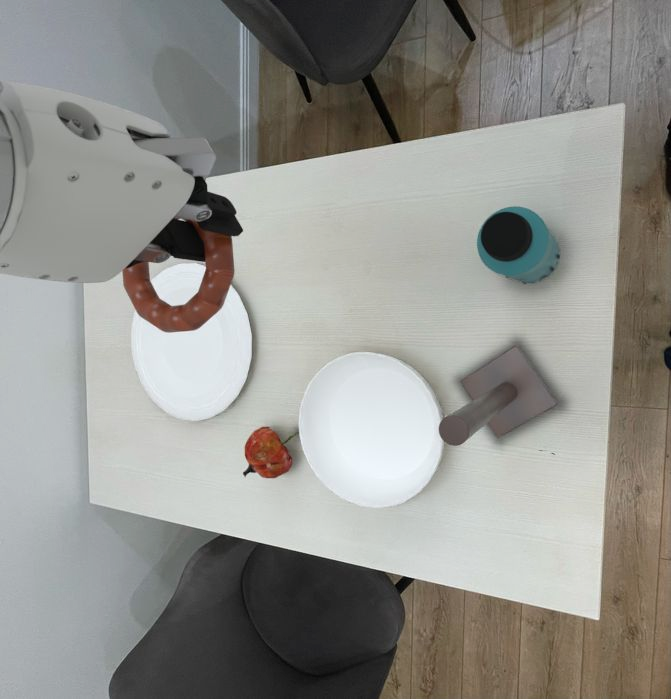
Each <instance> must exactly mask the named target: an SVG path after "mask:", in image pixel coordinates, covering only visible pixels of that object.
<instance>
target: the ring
mask: <svg viewBox="0 0 671 699" xmlns="http://www.w3.org/2000/svg"><path fill="white" fill-rule="evenodd" d="M173 219H178V220H181V219H180V218H175V217H173ZM182 221H187V222H189V223H190V224H192V225H194V227H195V229H196V230H197V232H198V234H199V236H200V237H201V239H202V241H203V243H204V251H205V262H204V264H205V266H206V270H205V273H204V276H203V279H202V282H201V285H200V287H199V290H198V292H197V293H196V294H195V295H194V296H193V297H192V298H191V299H190V300H189V301H188V302H187V303H186V304H185V305H176V306H171V305H169V304H168V303H166V302H165V301H163V300H161V299H160V298H159V296H158V295H157V293H156V291H155V289H154V287H153V285H152V283H151V275H150V274H151V273H150V262H146V261H144V262H142V263H139V264H136V265H134V266H132V267H130V268H125V269H124V270H123V271H121V273H122V284H123V288H124V291H125V292H126V295H127V296H128V298H129V300H130V302H131V304H132V306H133V307H134V311H135V310H136V312H137V313H138V315H139V316H140V317H142V318H143V319H145V320H146V321H148V322H149V323H151V324H152V325H154V326H155V327H157V328H158V329H160V330H161V331H163V332H167V333H172V332H184V331H194V330H197V329H199V328H200V327H201V326H203V325H204V324H205V323H206V322H207V321H208V320H209V319H210V318H212V317H213V316H214V315H215V314H216V313H217V312H218V311H219V310H220V309H221V308H222V307H223V305H224V302H225V299H226V296H227V294H228V291H229V288H230V285H232V282H233V280H234V277H235V261H234V260H235V259H234V246H233V238H232V237H233V236H229V235H224V234H219V233H215V232H210V231H205V230H202V229H201V228H200V227H199V225H198V223H197V222H196V221H191V220H185V219H182Z"/></svg>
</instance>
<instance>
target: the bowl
mask: <svg viewBox="0 0 671 699" xmlns="http://www.w3.org/2000/svg"><path fill="white" fill-rule="evenodd" d="M444 418H445V417H444V414H443V410H442V406H441V404H440V401H439V400H438V397H437V395H436V393H435V392H434V390H433V388H432V387H431V386H430V384H429V383H428V381H427V380H426V378H424V377H423V376H422V375H421V374H420V373H419V372H418V371H417V370H416V369H415V368H414V367H412V366H411V365H409V364H407V363H406V362H404V361H403V360H401V359H399V358H397V357H394V356H392V355H388V354H383V353H379V352H374V351H373V352H372V351H355V352H350V353H346V354H342V355H340V356H338V357H336V358H335V359H332V360H330V361H329V362H327V363H326V364H325V365H324V366H323V367H321V368H320V369H319V370H318V371H317V372H316V373H315V374H314V376H313V377H312V379H311V380H310V381H309V383H308V384H307V387H306V389H305V390H304V393H303V395H302V399H301V402H300V405H299V412H298V432H299V433H298V434H299V435H298V436H299V439H300V443H301V448H302V451H303V454H304V456H305V459H306V460H307V463H308V465H309V467H310V468H311V470H312V471H313V473H314V475H315V476H316V477H317V478H318V479H319V481H320V482H321V483H322V484H323V485H324V486H325V487H326V488H327V489H328V490H329V491H331V493H333V494H335V495H336V496H337V497H339V498H341V499H342V500H344V501H346V502H348V503H350V504H354V505H357V506H360V507H363V508H372V509H384V508H385V509H386V508H391V507H395V506H398V505H401V504H403V503H406V502H408V501H409V500H411V499H413V498H414V497H416V496H417V495H418V494H420V493H421V491H422V490H423V489H424V488H425V487H426V486H427V485H428V484H429V483H430V481H431V479H432V478H433V476H434V474H435V473H436V471H437V469H438V468H439V466H440V463H441V460H442V457H443V454H444V450H445V444H446V443H445V442H444V441H443V440H442V438H441V437H440V434H439V424H440V422H441V421H442V420H443V419H444Z"/></svg>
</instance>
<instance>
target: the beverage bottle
mask: <svg viewBox="0 0 671 699" xmlns="http://www.w3.org/2000/svg"><path fill="white" fill-rule="evenodd" d="M476 248H477V253H478V256H479V258H480V260H481V262H482V263H483V265H485V266H486V268H487V269H489V270H490V271H492V272H493V273H495V274H497V275H499V276H503V277H505V278H507V279H508V280H513V281H515V282H516V283H519V284H523V285H528V284H533V285H534V284H538V283H541V282H544V281H545V280H546V279H547V278H549V277H551V275H552V274H553V273H555V271H556V269H557V268H558V266H559V263H560V261H561V254H562V252H561V249H560V247H559V243H558V241H557V238H556V237H555V236H554V232H553V231H551V230H550V228H548V227H547V225H546V222H545V221H544V219H543V218H542V217H541V216H540V215H539V214H538V213H536V212H535V211H533V210H532V209H530V208H527V207H523V206H516V205H513V206H508V207H507V206H506V207H504V208H500V209H499V210H496V211H495V212H493V213H491V214H490V215H489V216H488V217H487V218H486V220H485V221H483V223H482V225H481V227H480V228H479V231H478V234H477V239H476Z"/></svg>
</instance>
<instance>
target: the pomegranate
mask: <svg viewBox="0 0 671 699" xmlns="http://www.w3.org/2000/svg"><path fill="white" fill-rule="evenodd" d="M297 434H299V431H297V432H295V433H294V434H293V435H290V436H289V437H288V438H287V439H286V440H284V441H283V442H282V440H281V438H280V436H279V435H278V433H277V432H276V431H275V430H273V429H272V428H271V427H270V426H260V427H259V428H257V429H255V430H254V431H253V432H251V434H250V435H249V437H248V438H247V440H246V442H245V445H244V457H245V461H246V462H247V464H248V467H247V468H246V469H245V470H244V471H243V472H242V475H243V477H244V478H246V476H248V474H250V473H252V474H255V473H257V474H258V476H260V477H261V478H263V479H277V478H278V477H280V476H282V475H284V474H287V473H288V472H289V471H290V469H291V468H292V466H293V463H294V462H293V461H294V458H293V456H292V455H291V454H290V451H289V449H288V447H287V446H286V444H287V443H288V442H290V440H291V439H293V438H294V437H295V436H297Z"/></svg>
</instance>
